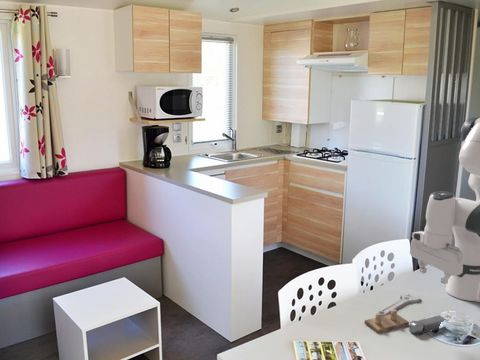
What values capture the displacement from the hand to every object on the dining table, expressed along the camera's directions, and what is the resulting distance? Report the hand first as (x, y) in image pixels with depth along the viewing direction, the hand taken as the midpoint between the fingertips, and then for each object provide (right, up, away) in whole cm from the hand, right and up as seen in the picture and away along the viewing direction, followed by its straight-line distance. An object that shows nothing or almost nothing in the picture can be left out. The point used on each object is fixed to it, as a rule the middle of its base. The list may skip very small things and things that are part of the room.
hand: (433, 277), depth 160 cm
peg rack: (-14, -18, +7) cm, 24 cm away
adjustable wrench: (-5, -16, +21) cm, 27 cm away
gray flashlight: (-1, -19, +4) cm, 19 cm away
